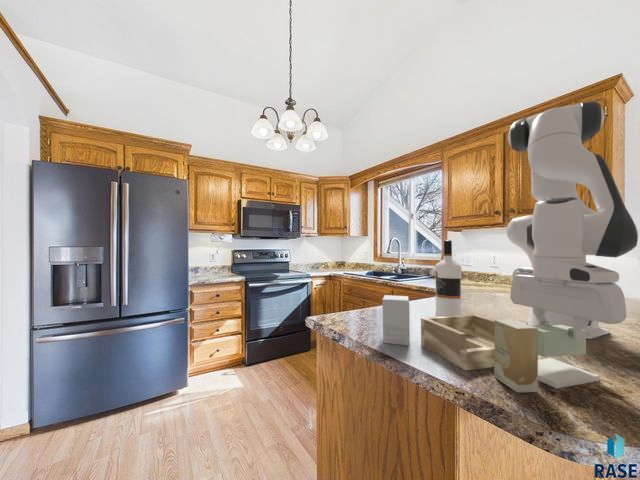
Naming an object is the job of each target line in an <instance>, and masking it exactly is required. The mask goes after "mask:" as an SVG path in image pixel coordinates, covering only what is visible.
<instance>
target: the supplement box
mask: <svg viewBox="0 0 640 480" xmlns="http://www.w3.org/2000/svg"><path fill="white" fill-rule="evenodd" d="M381 301H382V342H383V344H391V345H400V346H401V345H402V346H410V333H411V332H410V300H409V296H408V295H407V296H405V295H392V294H390V295H389V294H388V295H387V294H384V296H383V297H382V300H381Z"/></svg>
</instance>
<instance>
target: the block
mask: <svg viewBox="0 0 640 480" xmlns="http://www.w3.org/2000/svg"><path fill="white" fill-rule="evenodd" d="M532 327H535V328H538V356H540V357H543V358H548V357H549V358H551V357H562V356H563V357H564V356H567V357H568V356H578V355H580V356H581V355H586V354H587V339H586V330H582V335H583V337H582V338H581V339H576V338H572V337H569V335H568V334H569V332H568V328H573V327H569V326H565V325H538V326H532Z"/></svg>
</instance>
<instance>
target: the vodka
mask: <svg viewBox="0 0 640 480" xmlns="http://www.w3.org/2000/svg"><path fill="white" fill-rule="evenodd" d="M452 244H453V241H452V240H450V239H446V240H443V259H442V260H440V261H438V262H437V263H436V264H435V266H434V270H435V272H434V273H435V274H434V275H435V296H434V298H435V312H434V317H442V316H456V315H463V313H462V312H463V311H462V300H463V299H462V265H460V263H458V262H457V261H456V260H454V259H453V245H452Z"/></svg>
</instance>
